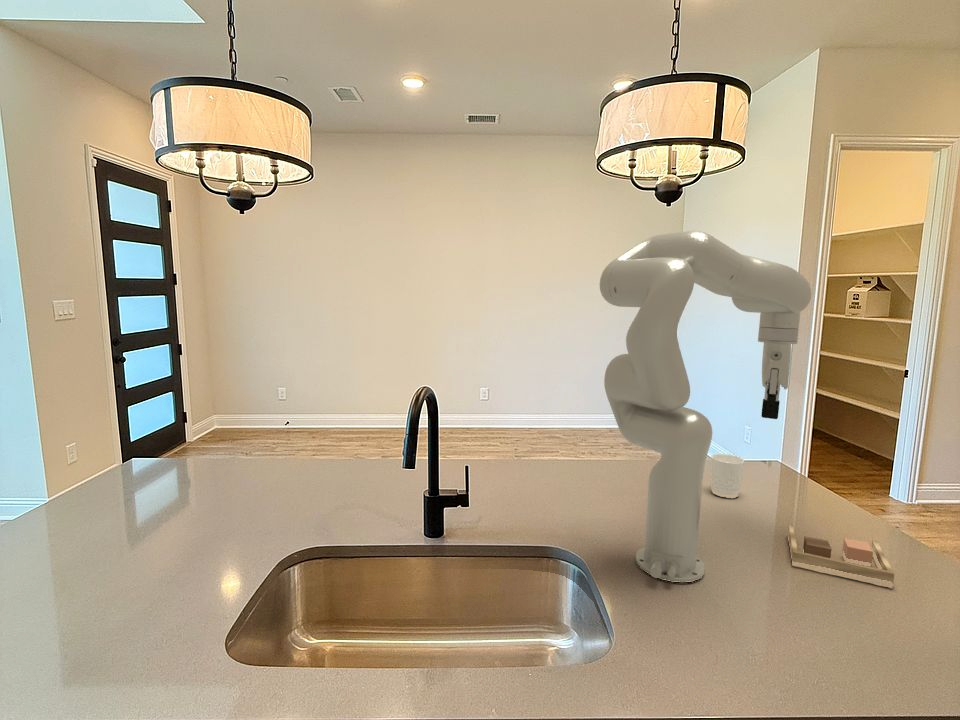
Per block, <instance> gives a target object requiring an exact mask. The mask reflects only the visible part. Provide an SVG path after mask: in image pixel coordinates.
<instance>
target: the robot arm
mask: <svg viewBox="0 0 960 720" xmlns="http://www.w3.org/2000/svg"><path fill="white" fill-rule="evenodd" d="M695 284H696V285H698V286H700V287H701V288H704V289H705V290H708V291H709V292H711V293H712V294H715V295H718V296H723V297H726V298H728V297H729V298H731V301H732V303H733V305H734V307H736V308H737V310H740V311H742V312H746V313H756V314H757V313H758V314H760V316H759V322H758V323H759V326H758V335H757V336H758V337H757V342H758V343H763V349H762V360H761V361H762V362H761V382H762V383H761V384H762V387H764V388H765V389H764V398H763V399H762V405H761V406H762V407H761V415H760V416H761V418H763V419H772V420H778V418H779V413H780V412H779V411H780V390H781V388H783V390H788V388H789V381H790V380H789V378H790V372H791V360H792V345H797V344H798V338H799V330H800V329H799V328H800V320H801V313H802V311H804V310H805V309H807V307H808V306H809V304H810V302H811V299H812V288H811V284H810V282H809V281H808V279H807V278H806V277H805V276H804V275H803V274H801V273H800V272H798V271H797V270H796V269H794V268H792V267H790V266H787V265H785V264H782V263H778V262H775V261H770V260H765V259H761V258H758V257H754V256H750V255H746V254H741V253H740V252H738V251H736V250H735V249H733V248H732V247H730V246H729V245H727V244H725V243H724V242H722V241H720V240H719V239H717V238H716V237H714V236H712V235H711V234H709V233H707V232H705V231H698V230H697V231H696V230H689V231H680V232H670V233H661V234H656V235H654V236H651V237H648V238H646V239H644V240H643V241H641V242H640V243H638V244H636V245H635V246H634V247H632V248H631V249H629V250H627V251H626V252H624V253H622V254H621V255H619V256H618V257H616V258H614V259H613V260H612V261H610V262H609V263H607V265H606V266H605V268H604V269H603V270H602V273H601V276H600V279H599V290H600V293H601V296H602V297H603V299H604V300H605V301H606V302H607V303H608V304H610V305H612V306H615V307H620V308H622V307H623V308H639V310H638V312H637V313H636V315H635V317H634V319H633V321H632V322H631V324H630V325H629V327H628V330H627V333H626V337H625V346H626V350H627V353H622V354H619V355H617V356H615V357H614V358H612V359H611V360H610V362H609V363H608V364H607V366H606V369H605V371H604V372H605V373H604V377H603V378H604V381H603V382H604V383H603V384H604V385H603V386H604V390H605V393H606V398H607V401H608V403H609V406H610V409H611V412H612V414H613V416H614V419H615V422H616V425H617V427H618V430H619V432H620V433H621V435H622V437H623V438H624V439H625V440H626V441H627V442H628V443H631V444H633V445H635V446H639V447H642V448H644V449H647V450H651V451H653V452H656V453H658V454H660V455H661V457H660V458H659V460H658V461H657V462H656V464H655V465H654V466H653V467H652V469H651V470H650V472H649V474H648V475H649V476H648V483H647V486H648V487H647V488H648V489H647V499H646V501H647V502H646V503H647V504H646V515H645V518H646V519H645V532H644V533H645V535H644V546H643V547H640V548H639V549H638V550H637V551H636V553H635V563H636V562H637V563H636V565H637V564H638V565H639V566H640V567H641V568H642V569H643V570H644V571H646V572H648V573H649V574H651V577H652V578H655V579H657V578H661V579H666V580H670V581H678V582H679V581H680V582H686V581H693V580H697V579H699V578H701V577H702V576H703V575H705V571H706V569H705V564H704V562H703V561H702V560H701V559H700V558H699V557H698V556H697V554H698V545H699V544H698V543H699V530H700V519H701V507H702V506H701V504H702V493H703V492H702V491H703V490H702V489H703V481H704V480H703V478H704V472H705V465H706V460H707V456H708V453H709V449H710V447H711V444H712V438H713V427H712V424H711V422H710V420H709V419H708V418H707V416H705V414H702V413H701V412H699V411H697V410H695V409H692V408H689V407H685V406H686V405H687V403H689V399H690V398H691V397H690V396H691V384H690V380H689V377H688V373H687V372H688V371H687V369H686V367H685V363H684V362H685V361H684V359H683V358H684V357H683V356H682V351H681V347H680V344H679V340H678V327H679V323H680V322H681V321H680V320H681V317H682V315H683V312H684V311H685V308H686V306H687V303H688V301H689V299H690V298H691V297H692V293H693V290H694V286H695ZM638 565H637V566H638ZM639 566H638V567H639ZM640 567H639V568H640ZM641 568H640V569H641ZM642 569H641V570H642ZM643 570H642V571H643ZM644 571H643V572H644ZM649 574H648V575H649ZM703 577H704V576H703ZM703 577H702V578H703ZM702 578H701V579H702Z"/></svg>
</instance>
